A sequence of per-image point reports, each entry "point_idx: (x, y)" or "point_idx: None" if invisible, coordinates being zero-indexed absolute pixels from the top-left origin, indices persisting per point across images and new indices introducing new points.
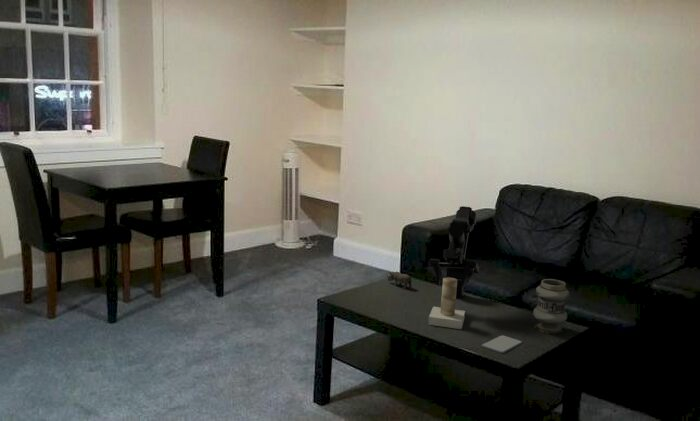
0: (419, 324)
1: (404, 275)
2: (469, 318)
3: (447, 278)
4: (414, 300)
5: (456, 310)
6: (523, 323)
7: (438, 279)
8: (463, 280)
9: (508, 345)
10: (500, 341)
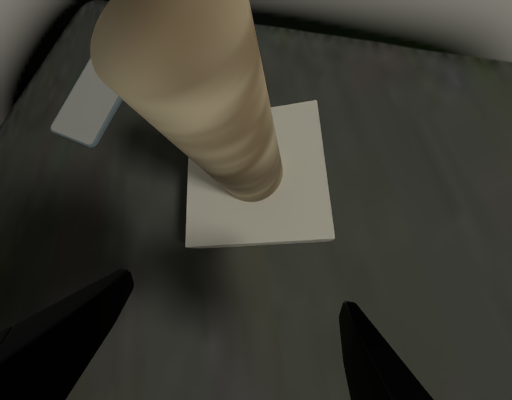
0: (345, 105)
1: None
2: (183, 259)
3: (197, 42)
4: None
5: (220, 233)
6: (16, 293)
7: (372, 350)
8: (69, 302)
9: (84, 83)
10: (100, 97)
